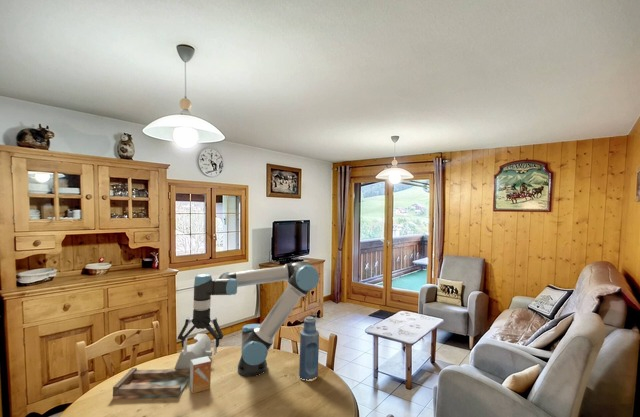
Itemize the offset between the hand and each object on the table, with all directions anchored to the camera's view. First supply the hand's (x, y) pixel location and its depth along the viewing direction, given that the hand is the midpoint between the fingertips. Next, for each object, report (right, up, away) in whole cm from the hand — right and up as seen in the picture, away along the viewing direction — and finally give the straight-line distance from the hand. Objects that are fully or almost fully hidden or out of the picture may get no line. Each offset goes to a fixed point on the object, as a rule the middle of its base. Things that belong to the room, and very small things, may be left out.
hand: (200, 353), depth 150 cm
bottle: (+50, -17, +12) cm, 54 cm away
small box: (0, -16, 0) cm, 16 cm away
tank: (-10, -16, +22) cm, 29 cm away
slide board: (-21, -16, 0) cm, 26 cm away
